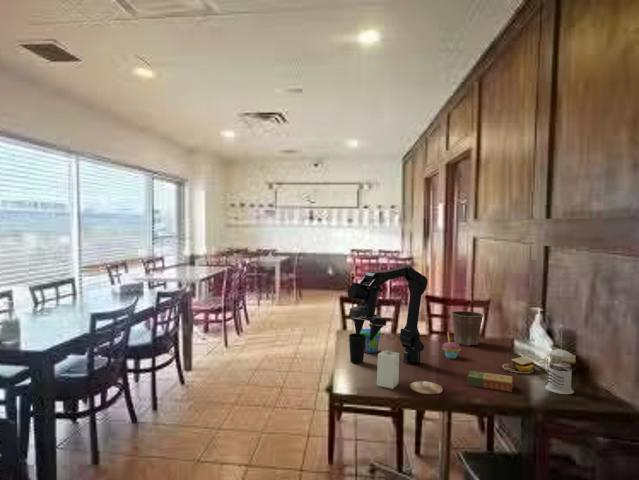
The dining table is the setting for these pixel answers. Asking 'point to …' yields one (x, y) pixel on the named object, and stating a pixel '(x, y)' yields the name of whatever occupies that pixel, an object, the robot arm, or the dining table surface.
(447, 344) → the cupcake
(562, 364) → the french press
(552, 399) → the dining table surface
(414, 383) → the cork mat
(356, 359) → the cup
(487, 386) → the carton
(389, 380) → the cover
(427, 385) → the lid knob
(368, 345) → the snack cup
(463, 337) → the plant pot
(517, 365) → the toy sandwich meal
